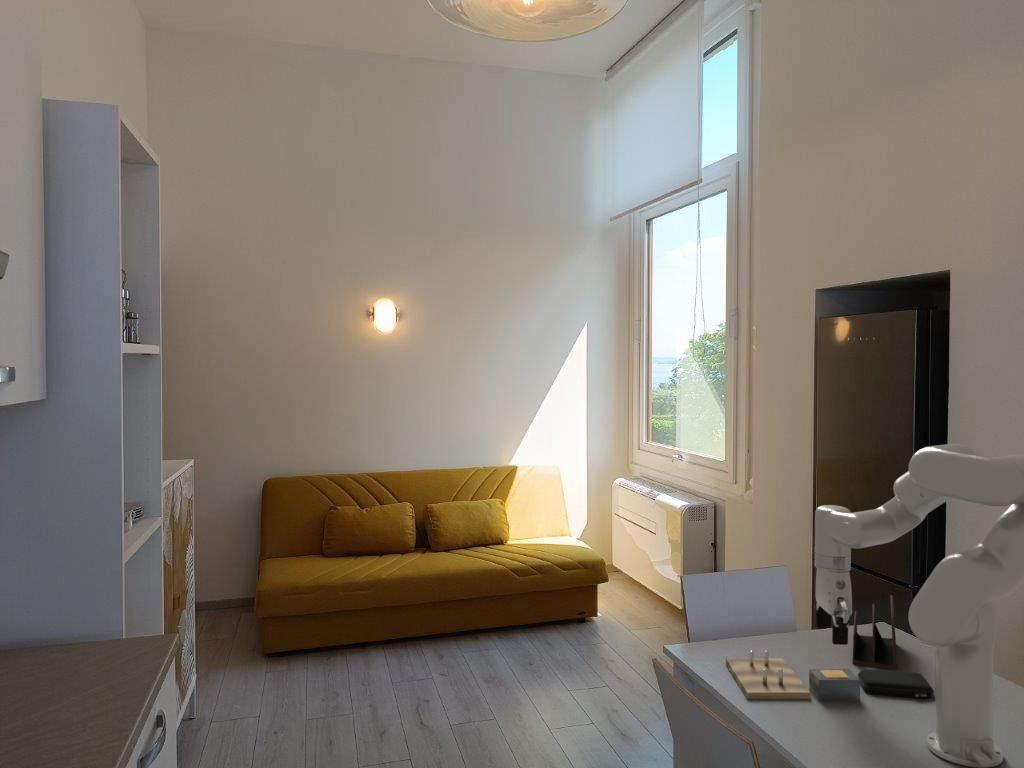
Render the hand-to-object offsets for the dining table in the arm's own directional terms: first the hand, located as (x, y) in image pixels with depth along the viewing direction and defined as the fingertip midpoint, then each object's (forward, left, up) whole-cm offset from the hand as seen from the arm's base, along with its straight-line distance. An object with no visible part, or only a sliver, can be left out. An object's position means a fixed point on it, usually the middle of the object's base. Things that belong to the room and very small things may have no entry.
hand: (831, 635), depth 171 cm
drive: (-1, 0, -14) cm, 14 cm away
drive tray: (+7, +13, -13) cm, 20 cm away
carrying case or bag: (+3, -15, -14) cm, 21 cm away
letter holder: (+25, -20, -14) cm, 35 cm away
